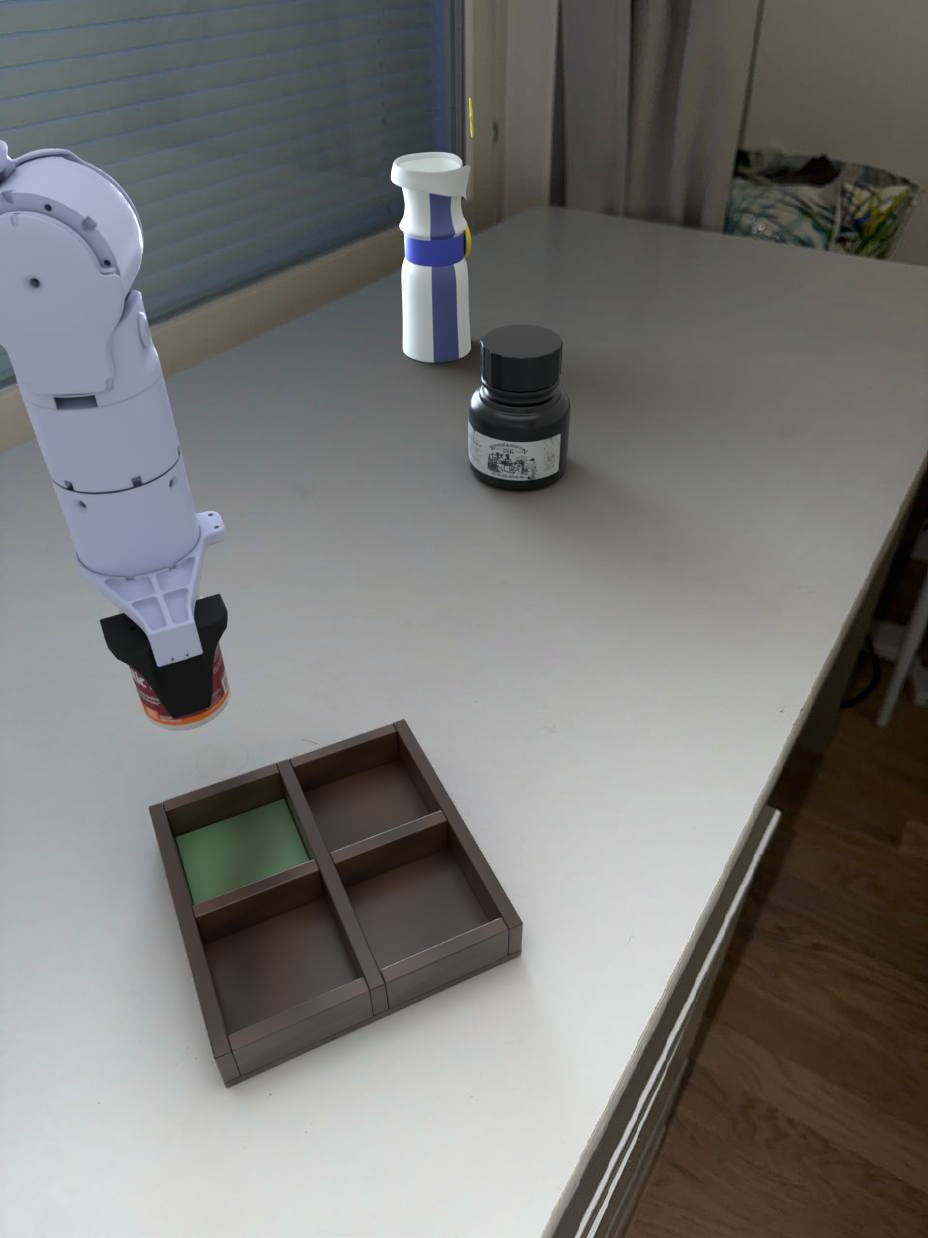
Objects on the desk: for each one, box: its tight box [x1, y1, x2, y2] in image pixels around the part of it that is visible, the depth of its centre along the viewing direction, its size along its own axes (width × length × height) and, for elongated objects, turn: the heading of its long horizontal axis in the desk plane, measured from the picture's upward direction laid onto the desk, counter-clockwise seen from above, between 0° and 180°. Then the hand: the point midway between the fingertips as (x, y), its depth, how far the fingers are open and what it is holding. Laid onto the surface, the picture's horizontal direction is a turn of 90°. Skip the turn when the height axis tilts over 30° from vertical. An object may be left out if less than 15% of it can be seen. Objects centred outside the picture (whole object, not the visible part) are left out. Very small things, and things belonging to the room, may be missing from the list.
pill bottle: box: [116, 587, 231, 732], centre depth 49 cm, size 5×5×8 cm
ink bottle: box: [467, 323, 572, 490], centre depth 80 cm, size 10×9×12 cm
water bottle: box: [390, 97, 475, 364], centre depth 96 cm, size 8×9×25 cm
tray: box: [148, 718, 524, 1089], centre depth 49 cm, size 15×15×3 cm
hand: (179, 677), depth 50 cm, fingers closed on pill bottle, 5 cm apart
